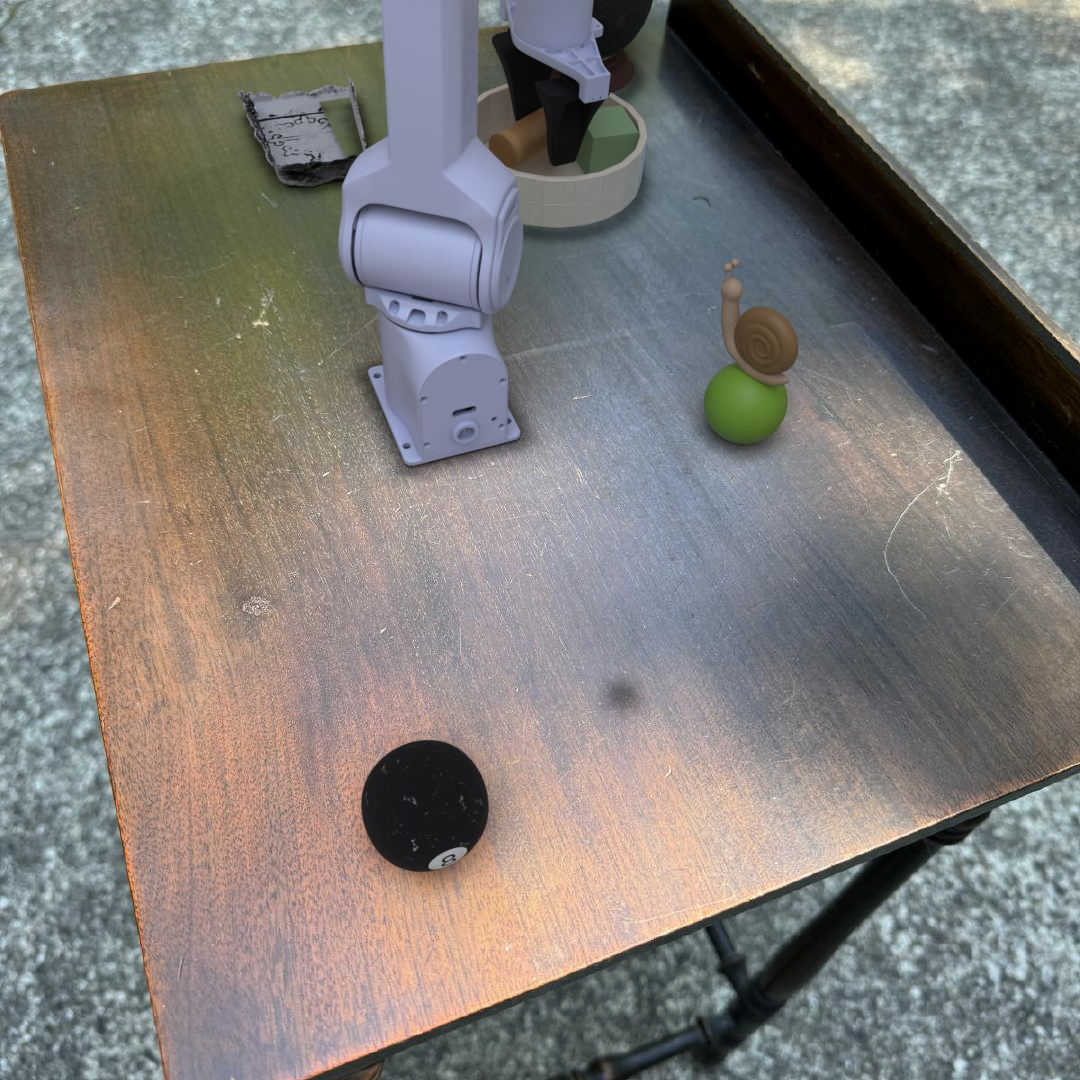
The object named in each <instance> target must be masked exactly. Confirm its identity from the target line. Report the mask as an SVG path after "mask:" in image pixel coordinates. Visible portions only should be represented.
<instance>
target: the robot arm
mask: <svg viewBox="0 0 1080 1080" xmlns="http://www.w3.org/2000/svg"><path fill="white" fill-rule="evenodd" d="M379 1H380V17H381V35H382V37H381V38H382V52H383V69H384V88H385V104H386V105H385V107H386V122H387V123H386V124H387V125H386V126H387V136H385V137H383V138H382V139H380V140H379V141H377V142H375V143H374V144H372V145H370V146H369V147H368V148H367V147H366V148H367V149H366V150H365V151H363V150H362V152H361V153H359V154H360V155H359V154H358V155H359V156H358V157H357V158H356V160H355V161H354V163H353V164H352V166H351V167H350V169H349V171H348V174H347V176H346V178H345V180H343V183H342V184H341V217H340V222H339V226H338V227H339V228H338V229H339V230H338V239H337V246H338V247H337V248H338V249H337V250H338V258H339V262H340V265H341V268H342V270H343V272H344V274H345V277H346V279H347V280H348V281H349V283H351V284H352V285H354V286H359V287H364V288H363V289H364V297H365V298H364V299H365V304H367V305H371V306H373V307H375V308H376V315H377V323H378V333H379V340H380V341H379V342H380V353H381V362H382V364H379V365H375V366H372V367H370V368H369V369H368V370H367V374H368V378H369V380H370V383H371V386H372V388H373V390H374V393H375V395H376V398H377V400H378V402H379V405H380V408H381V410H382V411H383V414H384V417H385V419H386V421H387V424H388V427H389V429H390V431H391V434H392V436H393V439H394V441H395V443H396V446H397V448H398V451H399V453H400V456H401V458H402V460H403V462H404V464H405V465H406V466H408V467H409V466H410V467H412V466H413V467H414V466H419V465H422V464H426V463H430V462H433V461H437V460H442V459H445V458H451V457H454V456H459V455H461V454H462V455H463V454H466V453H469V452H473V451H478V450H481V449H485V448H489V447H493V446H497V445H500V444H504V443H508V442H512V441H516V440H518V439H519V438H520V437H521V430H520V428H519V425H518V424H517V422H516V420H515V417H514V416H513V413H512V412H511V410H510V408H509V372H508V368H507V365H506V363H505V360H504V359H503V357H502V355H501V353H500V351H499V348H498V346H497V343H496V339H495V336H494V329H493V327H494V326H493V324H494V323H493V321H494V319H493V318H494V315H495V314H497V313H498V312H499V311H500V310H501V309H503V308H504V307H505V306H506V305H507V304H508V303H509V301H510V299H511V297H512V294H513V292H514V289H515V286H516V282H517V278H518V276H519V275H518V274H519V270H520V265H521V261H522V260H521V258H522V253H523V244H524V226H523V225H524V224H522V221H521V219H520V212H519V191H518V189H517V179H516V177H515V176H514V175H513V174H512V173H511V172H510V170H509V169H508V168H507V167H506V166H505V165H504V164H503V163H502V162H501V161H500V160H499V159H498V158H497V157H496V156H495V155H494V154H493V153H492V152H491V151H490V150H489V149H488V148H487V147H486V146H485V145H484V144H483V143H482V142H481V141H480V140H479V138H478V136H477V105H478V96H479V95H478V94H479V89H478V88H479V21H480V20H479V19H480V16H479V15H480V12H479V11H480V10H479V9H480V0H379ZM498 11H499V12H498V13H499V14H498V15H499V17H500V18H501V19H502V20H503V21H505V22H508V26H509V27H508V28H507V31H504V32H503V31H501V32H497V33H495V34H494V35H492V37H491V44H492V46H493V49H494V50H495V52H496V54H497V57H498V58H499V61H500V63H501V66H502V69H503V72H504V76H505V78H506V82H507V83H506V84H508V87H509V92H510V97H511V102H512V107H513V112H514V117H515V121H516V122H517V121H518V120H520V119H522V118H524V117H525V116H527V115H529V114H531V113H533V112H534V111H536V110H538V109H540V108H542V107H543V110H544V115H545V120H546V129H547V151H548V157H549V161H550V163H551V164H552V165H553V166H560V165H564V164H568V163H572V162H575V160H576V158H577V155H578V152H579V149H580V147H581V144H582V141H583V139H584V136H585V133H586V131H587V129H588V126H589V124H590V122H591V120H592V118H593V117H594V115H595V113H596V112H597V110H598V109H599V107H600V106H601V105H602V103H603V102H604V101H605V100H606V99H607V98H608V96H609V95H610V92H611V83H610V75H611V74H610V73H609V72H608V70H607V69H606V68H605V67H604V65H603V63H602V60H601V57H600V53H599V50H598V47H597V44H596V40H595V38H597V37H600V36H602V34H603V25H602V24H600V23H599V22H598V21H597V20H596V19H595V18H593V17H592V11H593V0H499V10H498ZM553 68H554V69H556V70H558V71H560V79H559V78H554V79H550V76H551V72H552V69H553Z"/></svg>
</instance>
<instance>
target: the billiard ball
mask: <svg viewBox="0 0 1080 1080" xmlns="http://www.w3.org/2000/svg"><path fill="white" fill-rule="evenodd" d="M360 806H361V807H360V810H361V811H360V812H361V818H362V823H363V826H364V829H365V833H366V834H367V838H368V839H369V841H370V843H371V844H372V846H373V847H374V848H375V850H376V852H378V854H379V855H380V856H381V857H382V858H383V859H384V860H386V861H387V862H388V863H390V864H391V865H393V866H394V867H396V868H398V869H400V870H404V871H408V872H415V873H429V872H435V871H439V870H442V869H444V868H447V867H450V866H451V865H454V864H455V863H457V862H459V861H460V860H461V859H463V858H464V857H466V855H468V854H469V853H470V852H471V851H472V850H474V848H475V847H476V846H477V844H478V843H479V841H480V840H481V838H482V836H483V835H484V833H485V830H486V827H487V824H488V820H489V811H490V803H489V794H488V790H487V786H486V783H485V780H484V778H483V776H482V773H481V771H480V770H479V768H478V766H477V765H476V764H475V762H474V761H473V760H472V759H471V758H470V757H469V755H468V754H467V753H465V752H464V751H463V750H462V749H460V748H458V747H457V746H455V745H453V744H451V743H449V742H445V741H443V740H435V739H419V740H414V741H411V742H410V741H409V742H407V743H404V744H402V745H399V746H397V747H395V748H394V749H391V750H390V751H389V752H388V753H386V754H385V755H383V756H382V757H381V758H380V759H379V760H378V761H377V762H376V764H375V765H374V766H373V767H372V768H371V769H370V772H369V773H368V775H367V777H366V779H365V781H364V784H363V788H362V791H361V799H360Z"/></svg>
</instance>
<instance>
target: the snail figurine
mask: <svg viewBox="0 0 1080 1080" xmlns="http://www.w3.org/2000/svg"><path fill="white" fill-rule="evenodd" d="M739 265H740V261H739V259H738V258H733V259H732V260H730V262H726V263H725V264H724V265H723V269H722V270H723V271H724V272H725V273H724V279H723V281H722V283H721V285H720V294H721V305H720V325H721V326H720V327H721V336H722V339H723V344H724V347H725V349H726V351H727V353H728V355H729V356H730V357H731V358H732V359H733V361H734V362H732V363H730V364H727V365H726V366H724V367H722V368H721V369H719V370H718V372H716V373H715V374H714V375H713V377H712V378H711V379H710V381H709V382H708V384H707V386H706V389H705V392H704V397H703V410H704V415H705V418H706V420H707V423H708V424H709V426H710V428H711V429H712V430H713V431H714V432H715V433H716V434H717V435H718V436H720V437H721V438H723V440H726V441H728V442H730V443H733V444H734V443H735V444H741V445H748V444H754V443H758V442H761V441H763V440H765V439H767V438H768V437H771V435H773V434H774V433H775V432H776V431H777V430H778V429H779V428H780V427H781V425H782V423H783V421H784V419H785V417H786V415H787V410H788V405H789V403H788V402H789V398H788V392H787V388H786V384H788V383H789V382H790V381H791V380H790V377H788V375H787V374H784V373H785V372H787V371H789V370H790V369H791V368H792V367H793V366H794V364H795V363H796V361H797V358H798V354H799V340H798V336H797V333H796V331H795V328H794V327H793V324H792V323H790V321H789V319H787V317H785V316H784V315H783V314H782V313H781V312H780V311H778V310H776V309H774V308H771V307H768V306H761V305H759V306H753V307H751V308H749V309H747V310H746V311H744V312H742V313H741V314H740V299H741V297H742V296H743V294H744V287H743V284H742V282H741V281H740V280H739V279H737V278H736V277H733V275H734V274H733V273H734V269H735V268H738V267H739ZM730 272H731V273H730ZM728 273H730V277H727V274H728Z"/></svg>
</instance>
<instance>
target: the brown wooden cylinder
mask: <svg viewBox="0 0 1080 1080" xmlns="http://www.w3.org/2000/svg"><path fill="white" fill-rule="evenodd" d="M545 149H547V129H546V120H545V115H544V110H543V107H542V108H540V109H538V110H536V111H534V112H533V113H531V114H529V115H527V116H525V117H524V118H522V119H520V120H518V121H517V122H515V123H513V124H511V125H509V126H508V127H506V128H504V129H502V130H501V131H499V132H497V133H495V134H493V135H492V136H491V138H490V140H489V150H490V151H491V152H492V153H493V154H494V155H495V156H496V157H497V158H498V159H499V160H500V161H501V162H502V163H503V164H504V165H505V166H506V167H508V168H511V169H513V168H515V167H516V166H518V165H520V164H521V163H523V162H525V161H527V160H528V159H530V158H532V157H533V156H535V155H537V154H538V153H540V152H542V151H543V150H545Z"/></svg>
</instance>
